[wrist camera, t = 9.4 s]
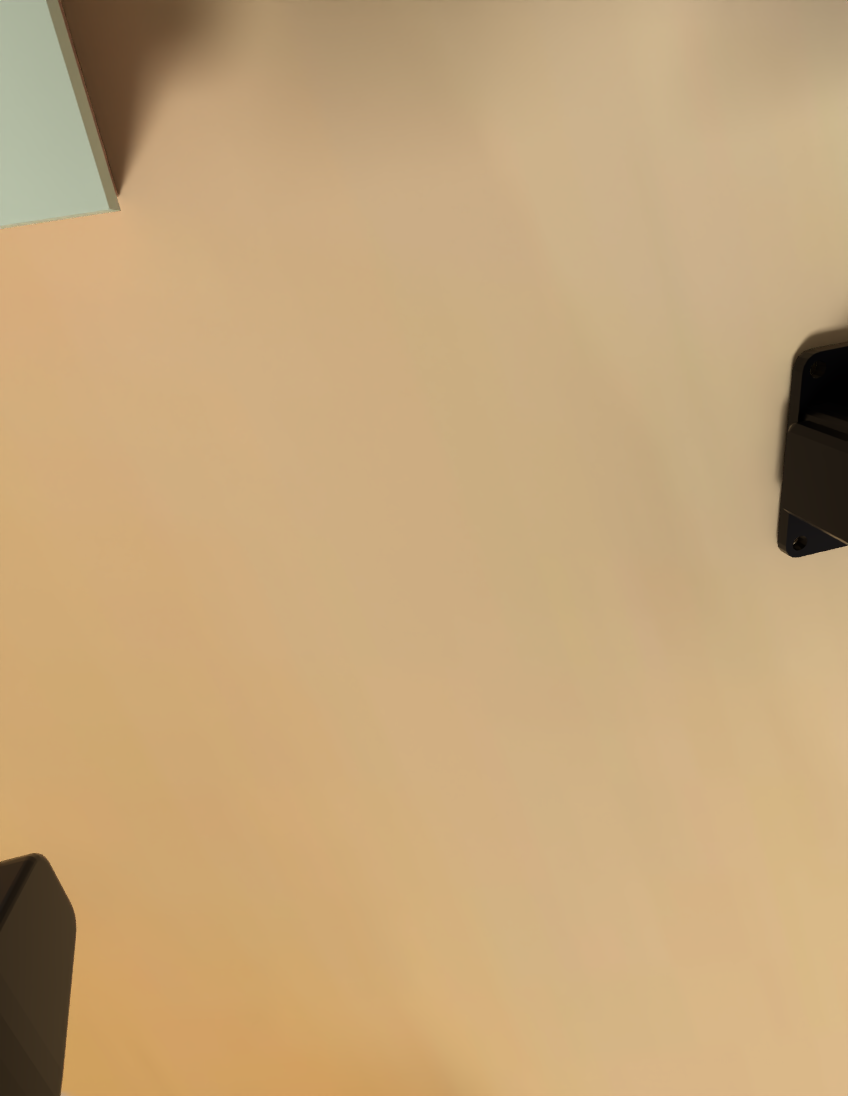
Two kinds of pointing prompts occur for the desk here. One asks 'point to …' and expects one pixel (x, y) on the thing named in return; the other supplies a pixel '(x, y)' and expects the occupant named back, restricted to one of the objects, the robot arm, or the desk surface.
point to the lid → (46, 123)
